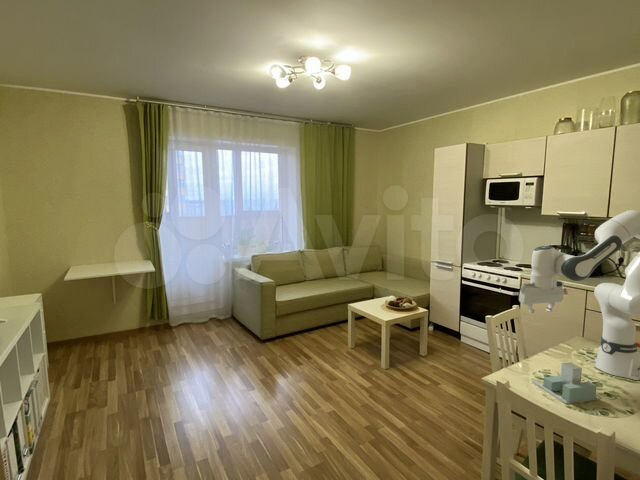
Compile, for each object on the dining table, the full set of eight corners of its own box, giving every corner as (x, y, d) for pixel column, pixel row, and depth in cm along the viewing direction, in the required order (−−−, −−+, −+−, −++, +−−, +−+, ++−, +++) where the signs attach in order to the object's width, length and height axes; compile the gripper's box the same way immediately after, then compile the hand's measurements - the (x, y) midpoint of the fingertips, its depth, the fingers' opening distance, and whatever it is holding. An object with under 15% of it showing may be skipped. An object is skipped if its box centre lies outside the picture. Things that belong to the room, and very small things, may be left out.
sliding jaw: (568, 383, 144) (568, 374, 143) (576, 388, 140) (577, 379, 140) (543, 386, 142) (543, 377, 141) (551, 391, 138) (551, 382, 137)
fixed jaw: (563, 379, 148) (563, 365, 147) (599, 399, 132) (600, 384, 132) (532, 382, 145) (533, 369, 145) (565, 404, 130) (566, 389, 129)
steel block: (568, 390, 139) (570, 362, 138) (579, 397, 134) (581, 367, 133) (560, 391, 139) (561, 363, 137) (571, 398, 134) (573, 368, 132)
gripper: (527, 285, 148) (525, 316, 150) (567, 282, 152) (565, 312, 153) (516, 281, 154) (514, 311, 156) (555, 279, 158) (553, 308, 159)
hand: (540, 312), depth 155 cm, fingers open, 8 cm apart
